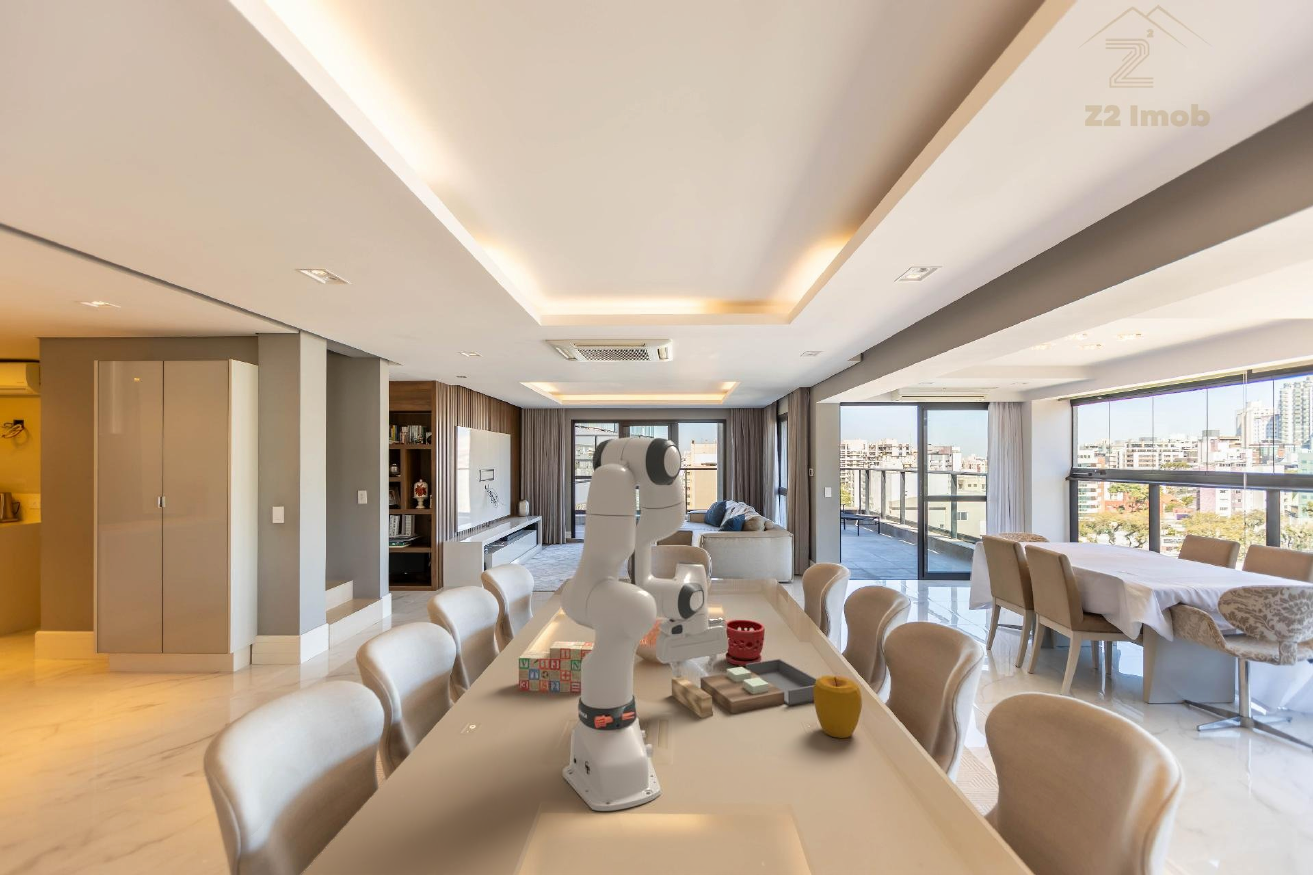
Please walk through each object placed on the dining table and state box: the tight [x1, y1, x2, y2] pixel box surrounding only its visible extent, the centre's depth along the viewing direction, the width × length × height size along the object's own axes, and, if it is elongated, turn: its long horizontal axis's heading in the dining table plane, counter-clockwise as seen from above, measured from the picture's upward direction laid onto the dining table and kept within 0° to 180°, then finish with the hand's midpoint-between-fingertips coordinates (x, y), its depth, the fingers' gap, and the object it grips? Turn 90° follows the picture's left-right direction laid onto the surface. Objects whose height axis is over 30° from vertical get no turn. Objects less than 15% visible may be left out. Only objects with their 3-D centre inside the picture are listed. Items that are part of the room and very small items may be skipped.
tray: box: [745, 658, 818, 707], centre depth 158 cm, size 22×12×4 cm, turn 22°
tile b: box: [726, 666, 751, 682], centre depth 158 cm, size 5×5×2 cm
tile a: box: [743, 677, 769, 694], centre depth 150 cm, size 5×5×2 cm
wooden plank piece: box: [671, 675, 714, 719], centre depth 147 cm, size 16×3×5 cm, turn 27°
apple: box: [813, 675, 863, 739], centre depth 131 cm, size 11×11×13 cm
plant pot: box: [724, 619, 766, 667], centre depth 180 cm, size 13×13×12 cm
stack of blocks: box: [518, 641, 594, 694], centre depth 160 cm, size 21×6×12 cm, turn 84°
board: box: [700, 670, 786, 715], centre depth 153 cm, size 18×16×3 cm
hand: (693, 673), depth 148 cm, fingers open, 8 cm apart
